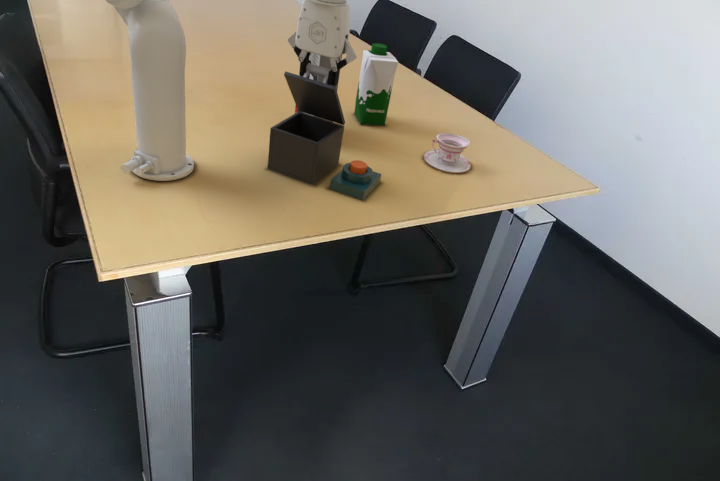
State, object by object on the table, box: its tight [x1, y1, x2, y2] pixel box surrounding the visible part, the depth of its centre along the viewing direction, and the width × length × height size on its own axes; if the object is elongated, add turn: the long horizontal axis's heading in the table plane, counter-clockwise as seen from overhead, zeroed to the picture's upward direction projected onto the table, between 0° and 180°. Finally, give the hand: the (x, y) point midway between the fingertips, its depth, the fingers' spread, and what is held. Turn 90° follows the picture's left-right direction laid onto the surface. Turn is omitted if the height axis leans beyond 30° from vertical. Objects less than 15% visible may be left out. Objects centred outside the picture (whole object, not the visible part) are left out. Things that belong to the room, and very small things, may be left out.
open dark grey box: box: [267, 111, 345, 186], centre depth 125 cm, size 13×12×10 cm
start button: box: [350, 159, 368, 174], centre depth 122 cm, size 4×4×2 cm
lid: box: [283, 63, 346, 126], centre depth 122 cm, size 13×12×5 cm
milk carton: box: [354, 42, 399, 126], centre depth 152 cm, size 9×9×20 cm
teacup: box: [423, 132, 472, 174], centre depth 140 cm, size 12×12×6 cm
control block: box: [329, 162, 382, 201], centre depth 123 cm, size 10×8×4 cm
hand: (317, 83), depth 119 cm, fingers closed on lid, 5 cm apart
